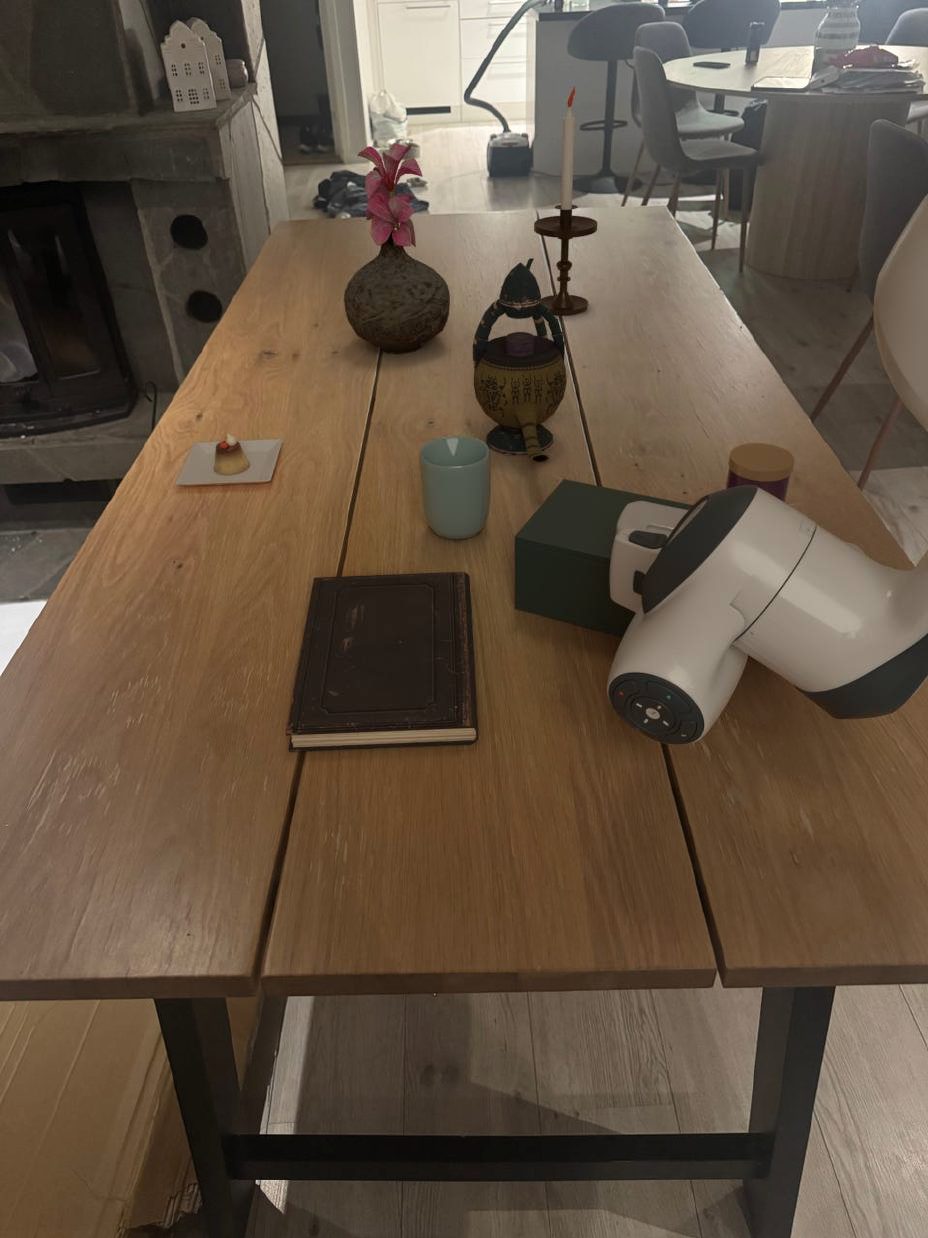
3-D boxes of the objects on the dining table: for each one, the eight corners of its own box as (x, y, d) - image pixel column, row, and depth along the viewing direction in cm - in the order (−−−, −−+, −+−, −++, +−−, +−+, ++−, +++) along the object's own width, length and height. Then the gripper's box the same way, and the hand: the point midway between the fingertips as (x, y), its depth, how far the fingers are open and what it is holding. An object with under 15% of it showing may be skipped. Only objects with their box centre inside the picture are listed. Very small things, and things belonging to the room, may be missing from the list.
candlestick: (604, 304, 168) (617, 83, 147) (571, 321, 161) (580, 92, 141) (555, 294, 174) (561, 79, 153) (520, 310, 167) (522, 87, 146)
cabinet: (700, 580, 97) (711, 508, 91) (664, 648, 88) (674, 573, 82) (561, 547, 102) (563, 478, 97) (514, 608, 94) (514, 536, 88)
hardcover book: (289, 752, 78) (285, 732, 77) (316, 595, 96) (313, 577, 95) (478, 744, 78) (478, 724, 77) (470, 589, 96) (469, 570, 95)
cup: (492, 547, 103) (490, 466, 97) (422, 549, 103) (416, 468, 97) (491, 512, 109) (490, 434, 103) (425, 513, 109) (420, 435, 103)
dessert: (175, 492, 116) (167, 457, 113) (195, 449, 125) (188, 416, 122) (271, 488, 116) (265, 453, 113) (284, 445, 125) (279, 412, 122)
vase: (367, 372, 145) (347, 163, 128) (336, 337, 159) (313, 143, 141) (466, 354, 150) (460, 150, 133) (427, 321, 163) (417, 132, 146)
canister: (775, 574, 88) (800, 449, 80) (762, 603, 84) (787, 475, 77) (718, 561, 90) (737, 438, 82) (703, 590, 86) (722, 463, 79)
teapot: (551, 410, 132) (556, 239, 118) (589, 494, 112) (600, 300, 98) (467, 416, 131) (462, 245, 117) (490, 502, 111) (487, 308, 97)
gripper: (859, 589, 68) (883, 504, 78) (596, 531, 76) (648, 461, 86) (841, 656, 72) (866, 567, 82) (592, 595, 80) (642, 520, 89)
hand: (753, 512), depth 84 cm, fingers closed on canister, 5 cm apart
